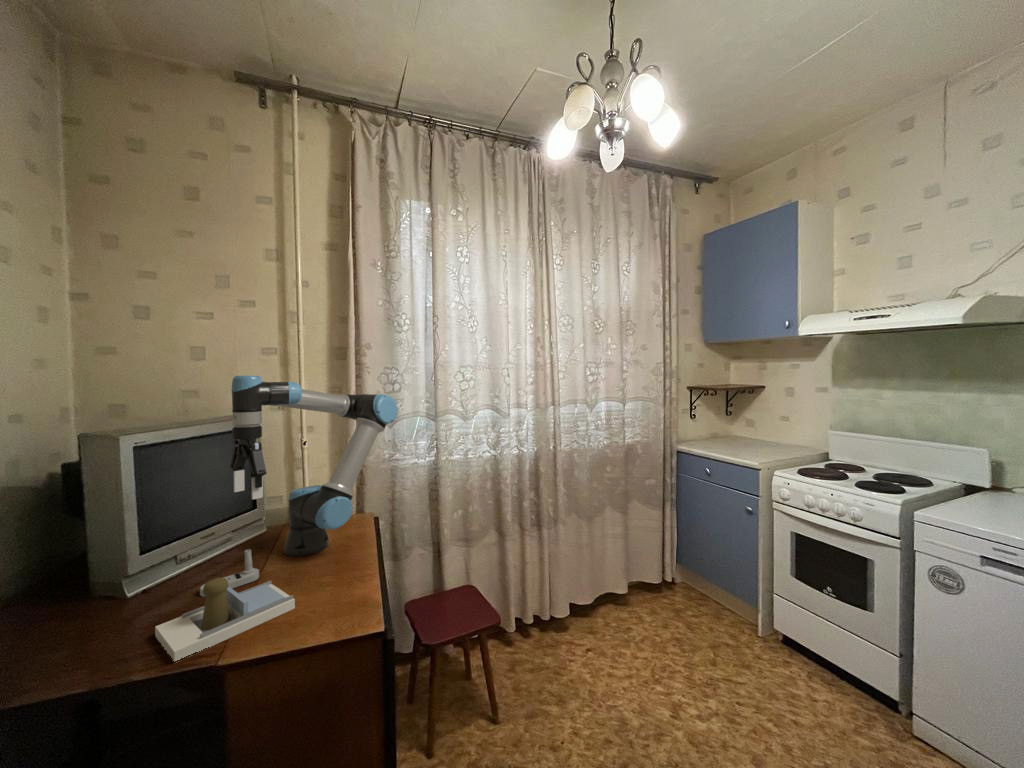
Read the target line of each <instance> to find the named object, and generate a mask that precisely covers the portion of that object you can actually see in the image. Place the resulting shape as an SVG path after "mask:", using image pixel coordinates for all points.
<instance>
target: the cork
mask: <svg viewBox="0 0 1024 768" xmlns="http://www.w3.org/2000/svg"><path fill="white" fill-rule="evenodd" d="M204 584H205V586H204V588H203V593H204V595H205V596H206V597H205V598H204V599H205V601H204V605H203V606H204V613H203V620H202V626H201V628H202V629H203V630H211V629H213V628H216V627H218V626H221V625H223V624H225V623H228V622H229V621H230V619H231V617H230V612H229V606H228V600H227V595H226V590H227V588H228V581H227V579H225V578H224V577H217V578H213V579H211V580H209V581H208V582H206V583H204Z"/></svg>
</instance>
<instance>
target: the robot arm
mask: <svg viewBox="0 0 1024 768" xmlns="http://www.w3.org/2000/svg"><path fill="white" fill-rule="evenodd" d="M230 392H231V398H232V399H231V406H232V407H231V408H232V410H231V414H232V415H231V416H230V419H231V420H232V422H231V423H232V426H233V427H232V430H231V432H232V434H231V435H232V439H233V440H234V441H233V450H232V451H233V452H232V455H231V462H230V469H232V471H233V493H239V492H243V491H245V470H246V468H245V464H246V461H247V462H248V465H249V467H250V470H251V475H250V478H251V500H258V499H261V498H262V499H263V497H264V482H263V481H264V480H263V478H264V477H263V476H265V475H267V469H266V468H267V467H266V464H265V459H264V454H263V447H262V442H260V441H259V442H257V439H260V438H262V437H263V426H262V423H263V411H262V410H263V409H262V407H263V406H274V407H283V408H290V409H297V410H306V411H313V412H320V413H328V414H335V415H336V416H337V417H341V418H347V419H351V420H356V424H357V426H356V428H355V429H354V431H353V433H352V435H351V437H350V439H349V441H348V443H347V445H346V447H345V449H344V451H343V453H342V455H341V457H340V459H339V461H338V463H337V465H336V467H335V468H334V469H335V470H334V471H333V473H332V474H331V476H330V478H329V481H328V482H326V483H323V484H322V485H320V484H318V485H316V484H315V485H309V486H304V487H299V488H295V489H293V490H291V491H290V492H289V495H288V500H287V501H288V521H289V523H288V526H289V528H288V534H287V536H286V539H285V543H284V545H283V553H284V555H287V556H290V557H301V556H302V557H303V556H309V555H312V554H317V553H320V552H321V551H323V550H325V549H326V548H327V547H328V546H329V543H330V540H329V535H328V532H327V530H329V531H330V530H332V531H333V530H337V529H340V528H341V527H343V526H344V525H345V524H346V523H347V522H348V521H349V520H350V518H351V517H352V513H353V508H354V507H353V503H352V499H353V497H354V494H353V492H352V489H353V487H354V485H355V484H356V481H357V479H358V477H359V475H360V472H361V470H362V468H363V466H364V464H365V462H366V460H367V458H368V456H369V453H370V452H371V449H372V447H373V445H374V442H375V441H376V439H377V436H378V435H379V434H380V433H382V432H384V431H385V428H386V427H387V424H388V425H389V424H391V423H393V422H395V420H396V419H397V417H398V412H399V409H398V408H399V407H398V406H397V402H396V400H395V399H394V398H393V397H392V396H391V395H389V394H384V393H378V394H372V393H371V394H369V393H363V394H347V393H341V394H339V395H338V394H333V393H327V392H322V391H321V392H320V391H315V390H310V389H302V387H301V385H300V384H299V383H298V382H295V381H268V382H266V381H263V380H262V377H261V376H260V375H236V376H234V377H233V378H232V383H231V391H230Z"/></svg>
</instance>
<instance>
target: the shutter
mask: <svg viewBox="0 0 1024 768" xmlns="http://www.w3.org/2000/svg"><path fill="white" fill-rule="evenodd" d="M238 593H239V592H237V591H236V590H234V588H233V589H232V588H231V587H228V588H227V590H226V595H227V600H228V604H229V605H230V606H231V607H232V608H233V609H235V610H236V611H237V612H238V613H239V614H240V615H241V616H244V615H246V614H249V613H251V612H253V611H256V610H258V609H260V608H263V607H265V606H267V605H270V604H272V603H274V602H277V601H279V600H281V599H284V598H285V597H284V596H283V595H281V594H280V593H278V592H277V591H275V590H274V589H272V588H271V587H269V586H268V585H266V584H264V585H262V586H259V587H257V588H254V589H251V590H249V591H246V592H244V593H241V594H238Z"/></svg>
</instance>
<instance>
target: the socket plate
mask: <svg viewBox="0 0 1024 768" xmlns="http://www.w3.org/2000/svg"><path fill="white" fill-rule="evenodd" d="M272 583H273V581H272V580H268V581H266V582H263V583H261V584H257V585H256V586H252V587H250V588H247V589H245V590H242V591H239V592H237V593H238V594H241V593H244V592H246V591H249V590H251V589H254V588H257V587H259V586H262V585H264V584H266V585H268V586H269V587H271V588H272V589H274V590H275V591H277V592H278V593H280V594H281V595H283V596H284V597H285V598H284V599H281V600H279V601H277V602H274V603H272V604H270V605H267V606H265V607H263V608H260V609H258V610H256V611H253V612H251V613H249V614H246V615H244V616H241V615H240V614H239V613H238V612H237V611H236V610H235V609H233V608H232V607H231V606H230V605H229V604H228V606H229V612H230V617H231V619H230V621H229V622H228V623H225V624H223V625H221V626H218V627H216V628H213V629H211V630H203V629H202V628H201V626H202V620H203V613H204V606H205V605H202V606H200V607H198V608H195V609H192V610H190V611H187V612H185V613H182V614H181V616H179V617H176V618H174V619H171V620H169V621H166V622H163V623H161V624H160V623H159V625H158V624H157V625H156V626H155V628H154V630H155V632H154V633H155V638H156V639H157V641H158V642H159V643H161V644H160V646H161V647H162V648H163V647H164V648H163V649H164V651H165V650H166V651H167V652H166V651H165V652H166V653H167V655H168V654H169V655H170V656H171V658H172V659H173V660H172V659H171V658H170V659H171V660H172V662H173V661H174V662H175V661H177V660H180V659H181V658H184V657H186V656H188V655H191V654H193V653H195V652H198V653H200V652H202V651H204V650H203V649H205V648H207V649H209V648H211V647H213V646H215V645H217V644H220V643H221V642H224V641H227V640H229V639H231V638H233V637H235V636H237V635H240V634H242V633H244V632H245V631H248V630H251V629H252V628H255V627H257V626H259V625H261V624H263V623H265V622H268V621H270V620H273V619H274V618H276V617H279V616H281V615H284V614H285V613H287V612H289V611H292V610H294V609H295V608H296V605H295V604H296V599H295V598H294V595H293V594H291V595H289V594H288V593H286V592H285V591H283V590H282V589H281V588H279V587H277V586H276V585H274V584H272ZM208 647H209V648H208ZM201 650H202V651H201ZM205 650H206V649H205ZM199 651H200V652H199ZM169 655H168V656H169ZM170 656H169V657H170ZM191 656H192V655H191ZM174 662H173V663H174Z"/></svg>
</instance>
